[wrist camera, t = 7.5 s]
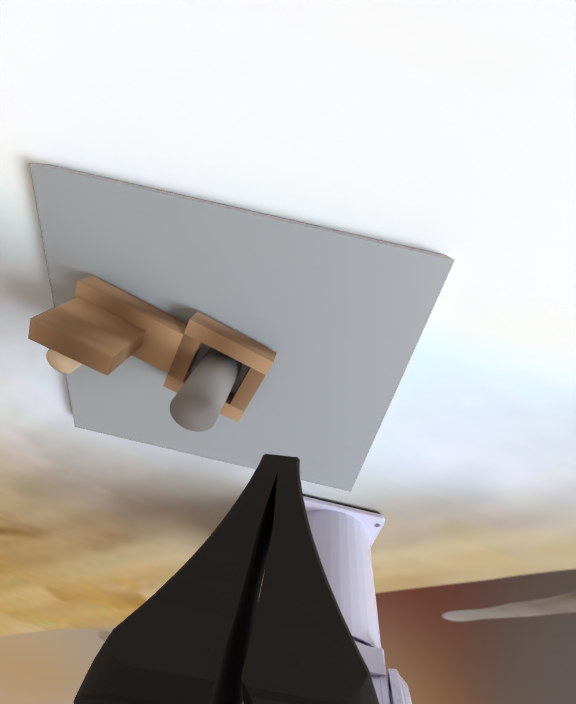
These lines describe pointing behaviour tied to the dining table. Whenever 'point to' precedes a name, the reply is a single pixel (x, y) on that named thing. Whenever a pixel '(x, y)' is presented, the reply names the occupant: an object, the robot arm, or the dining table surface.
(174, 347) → the brown wooden blocky piece
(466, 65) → the dining table surface
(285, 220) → the base board
